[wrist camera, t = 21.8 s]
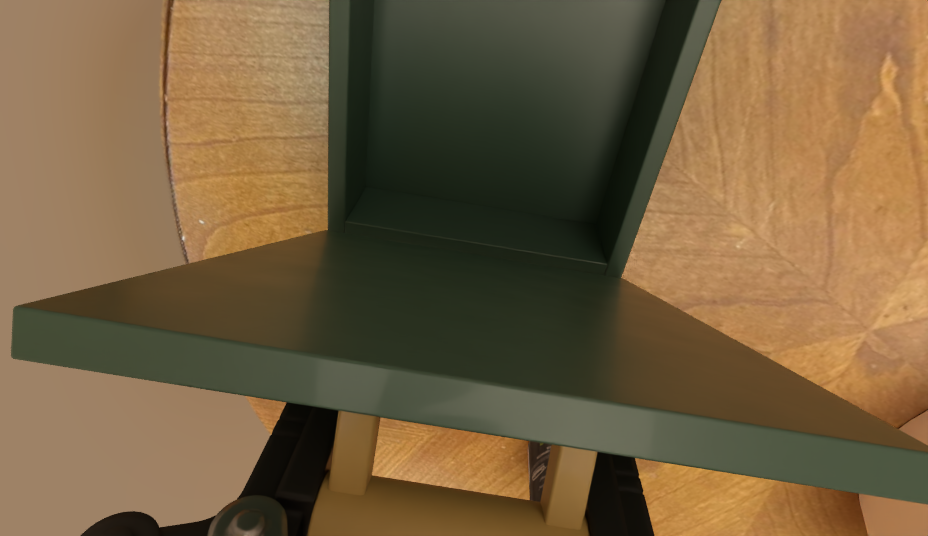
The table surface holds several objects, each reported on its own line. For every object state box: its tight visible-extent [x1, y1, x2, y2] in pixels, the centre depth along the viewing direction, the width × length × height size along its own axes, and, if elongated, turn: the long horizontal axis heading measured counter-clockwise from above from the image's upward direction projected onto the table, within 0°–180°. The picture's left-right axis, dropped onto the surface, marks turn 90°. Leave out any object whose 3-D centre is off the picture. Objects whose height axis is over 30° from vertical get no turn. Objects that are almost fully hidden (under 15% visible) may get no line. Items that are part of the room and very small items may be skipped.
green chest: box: [328, 0, 721, 278], centre depth 22 cm, size 16×14×5 cm
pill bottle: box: [528, 441, 552, 502], centre depth 32 cm, size 6×6×11 cm
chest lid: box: [11, 230, 928, 536], centre depth 16 cm, size 16×14×5 cm
